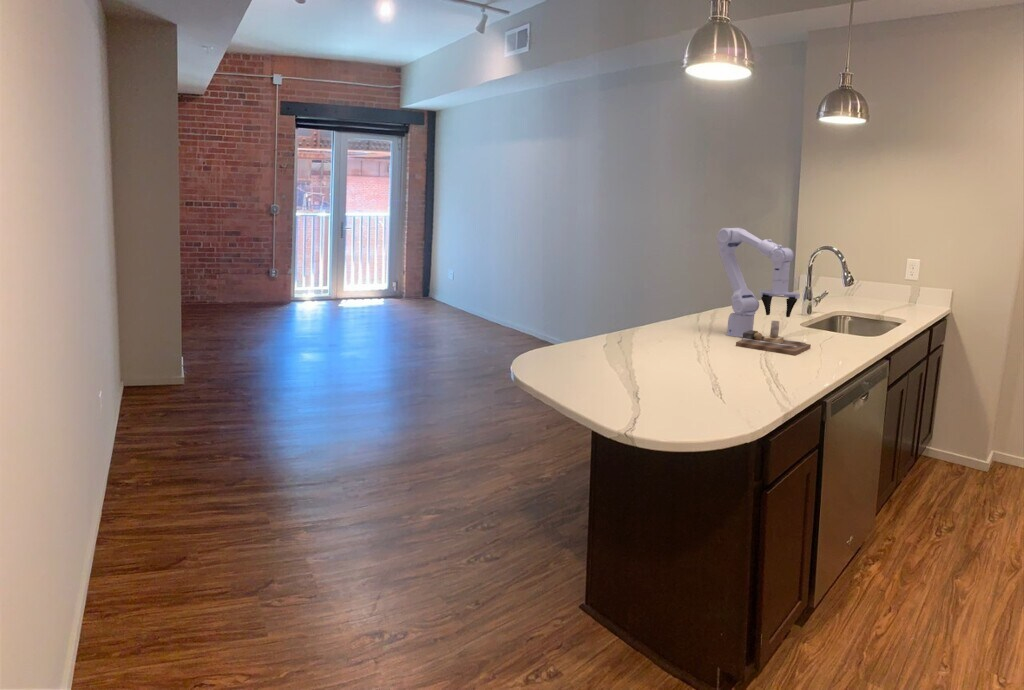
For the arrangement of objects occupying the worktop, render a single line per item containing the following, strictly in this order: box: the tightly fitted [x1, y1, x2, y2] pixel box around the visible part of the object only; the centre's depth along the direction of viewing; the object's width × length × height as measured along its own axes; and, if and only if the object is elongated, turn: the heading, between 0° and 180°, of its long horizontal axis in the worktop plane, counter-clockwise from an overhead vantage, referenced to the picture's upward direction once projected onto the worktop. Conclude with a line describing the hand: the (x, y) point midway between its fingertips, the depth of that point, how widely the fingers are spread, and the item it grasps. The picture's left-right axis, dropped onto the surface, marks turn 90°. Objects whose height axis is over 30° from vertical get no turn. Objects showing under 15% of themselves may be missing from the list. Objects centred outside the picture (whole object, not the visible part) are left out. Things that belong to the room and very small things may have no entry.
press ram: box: [764, 320, 784, 344], centre depth 267 cm, size 5×6×8 cm
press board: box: [735, 329, 811, 356], centre depth 268 cm, size 22×16×5 cm
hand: (777, 315), depth 275 cm, fingers open, 7 cm apart
